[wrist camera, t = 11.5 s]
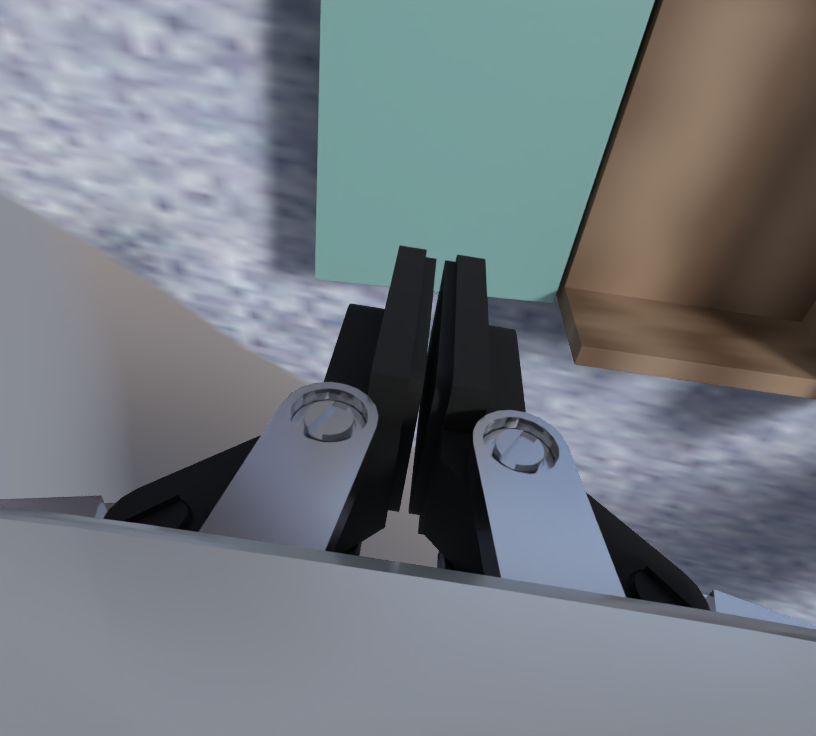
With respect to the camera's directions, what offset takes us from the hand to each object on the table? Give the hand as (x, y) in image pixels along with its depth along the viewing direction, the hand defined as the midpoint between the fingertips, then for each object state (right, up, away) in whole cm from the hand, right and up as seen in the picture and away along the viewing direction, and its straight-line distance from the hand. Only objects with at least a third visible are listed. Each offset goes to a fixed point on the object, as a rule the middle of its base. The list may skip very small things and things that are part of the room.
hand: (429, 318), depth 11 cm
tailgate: (+8, +9, +11) cm, 17 cm away
